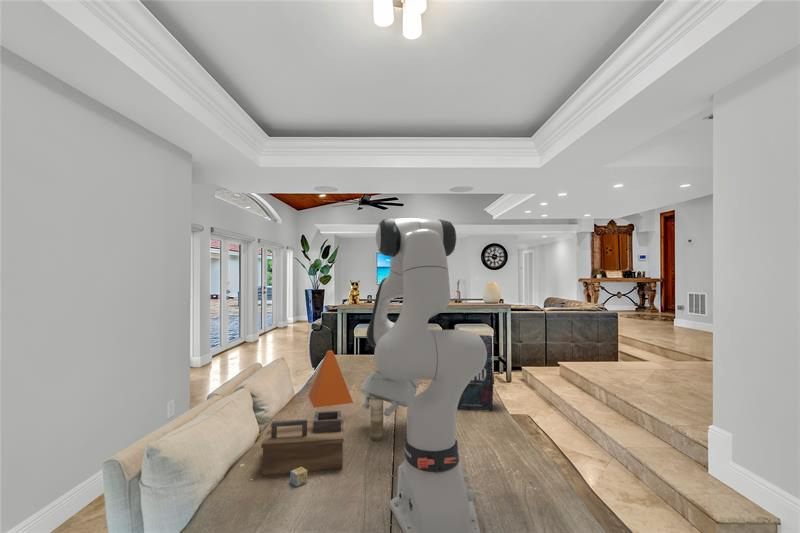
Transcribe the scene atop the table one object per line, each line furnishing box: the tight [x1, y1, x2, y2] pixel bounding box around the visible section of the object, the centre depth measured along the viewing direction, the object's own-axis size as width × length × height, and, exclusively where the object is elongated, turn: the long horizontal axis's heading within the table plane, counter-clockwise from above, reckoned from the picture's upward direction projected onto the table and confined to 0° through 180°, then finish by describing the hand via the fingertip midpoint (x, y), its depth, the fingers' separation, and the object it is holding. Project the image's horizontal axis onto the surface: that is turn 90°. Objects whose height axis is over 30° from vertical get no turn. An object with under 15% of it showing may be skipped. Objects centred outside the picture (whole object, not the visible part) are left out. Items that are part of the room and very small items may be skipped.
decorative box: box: [457, 334, 494, 412], centre depth 147 cm, size 8×16×28 cm, turn 81°
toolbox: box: [260, 410, 345, 476], centre depth 105 cm, size 14×21×12 cm, turn 99°
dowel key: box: [370, 397, 384, 441], centre depth 119 cm, size 4×4×12 cm
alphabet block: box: [289, 467, 308, 488], centre depth 93 cm, size 3×3×3 cm
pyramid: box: [308, 350, 354, 409], centre depth 156 cm, size 16×16×20 cm
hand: (375, 411), depth 118 cm, fingers open, 8 cm apart
